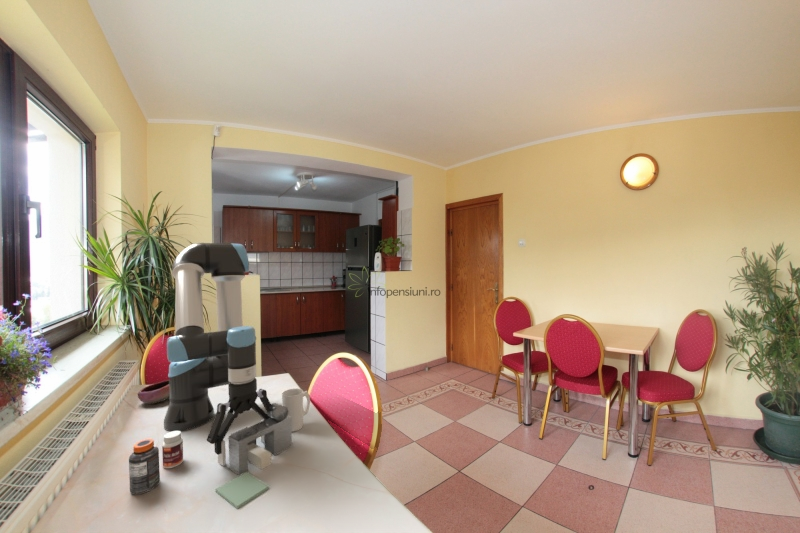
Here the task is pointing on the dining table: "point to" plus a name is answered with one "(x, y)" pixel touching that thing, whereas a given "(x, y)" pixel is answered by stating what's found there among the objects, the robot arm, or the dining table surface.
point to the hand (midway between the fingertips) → (244, 452)
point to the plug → (257, 454)
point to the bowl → (154, 392)
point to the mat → (241, 489)
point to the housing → (273, 430)
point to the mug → (295, 406)
